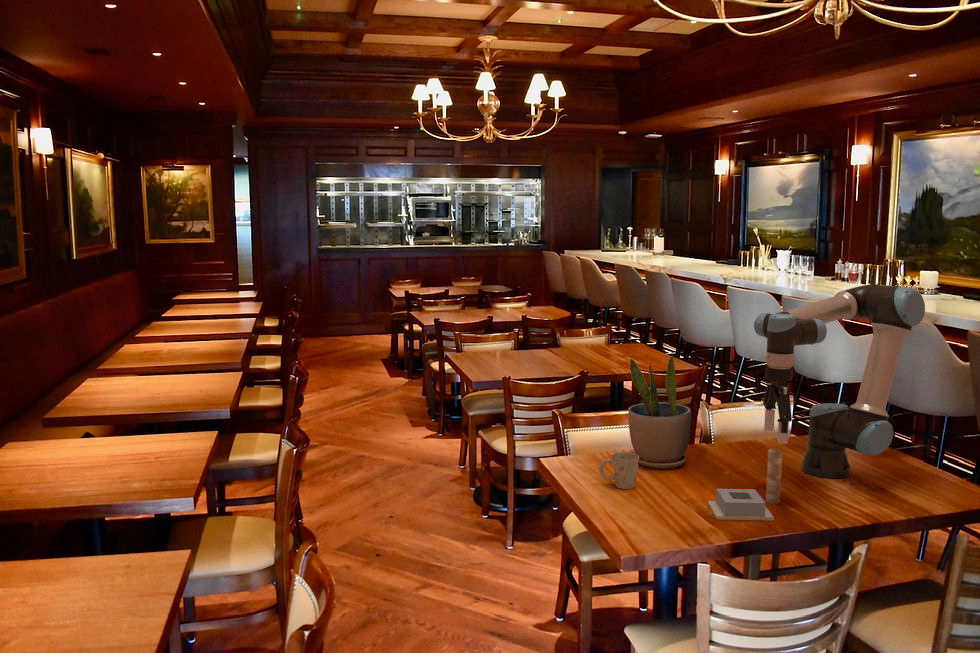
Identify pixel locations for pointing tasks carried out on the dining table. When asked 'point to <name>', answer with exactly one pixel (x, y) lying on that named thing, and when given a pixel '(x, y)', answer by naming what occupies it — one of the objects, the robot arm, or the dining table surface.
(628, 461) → the mug
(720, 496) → the socket
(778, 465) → the peg
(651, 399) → the potted plant
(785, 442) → the robot arm
